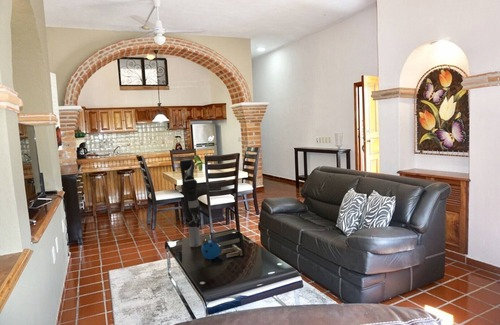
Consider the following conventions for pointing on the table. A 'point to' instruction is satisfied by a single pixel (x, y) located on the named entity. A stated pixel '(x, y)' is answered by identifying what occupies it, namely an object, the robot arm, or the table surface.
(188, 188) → the robot arm
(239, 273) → the table surface
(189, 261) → the table surface
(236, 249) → the wooden staple shape
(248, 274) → the table surface
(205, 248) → the alarm clock
